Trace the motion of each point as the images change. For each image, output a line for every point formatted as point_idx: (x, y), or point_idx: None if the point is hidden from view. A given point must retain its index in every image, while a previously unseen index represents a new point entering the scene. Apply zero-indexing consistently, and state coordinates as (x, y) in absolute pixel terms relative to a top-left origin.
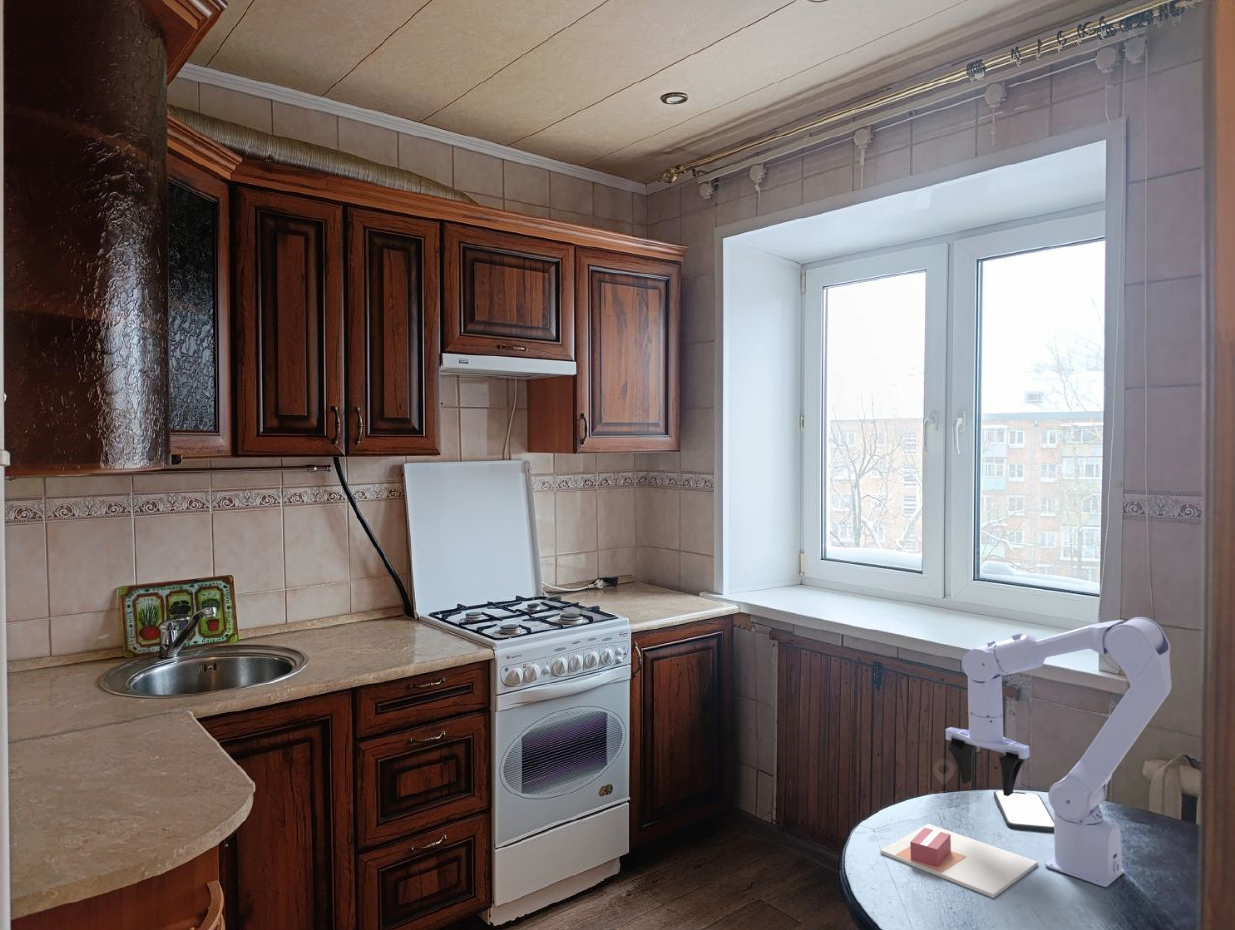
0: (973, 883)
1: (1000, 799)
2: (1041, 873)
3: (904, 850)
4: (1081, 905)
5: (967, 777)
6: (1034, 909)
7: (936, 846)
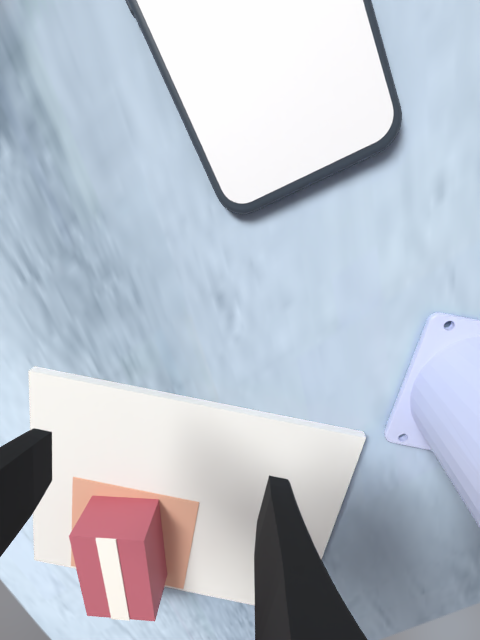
0: (254, 597)
1: None
2: (376, 467)
3: None
4: (473, 557)
5: (33, 486)
6: (380, 607)
7: (147, 611)
